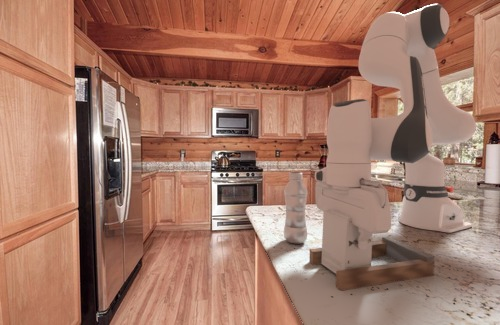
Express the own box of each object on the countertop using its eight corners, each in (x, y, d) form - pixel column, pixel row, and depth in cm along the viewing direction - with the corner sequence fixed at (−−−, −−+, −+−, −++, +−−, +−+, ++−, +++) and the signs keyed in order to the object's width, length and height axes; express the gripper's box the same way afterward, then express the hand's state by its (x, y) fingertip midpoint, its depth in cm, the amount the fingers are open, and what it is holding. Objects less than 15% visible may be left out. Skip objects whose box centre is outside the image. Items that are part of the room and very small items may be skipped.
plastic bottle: (302, 248, 64) (303, 174, 63) (279, 243, 68) (280, 172, 67) (310, 240, 70) (311, 172, 69) (288, 236, 73) (289, 171, 72)
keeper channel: (388, 251, 62) (388, 236, 62) (434, 275, 51) (434, 256, 50) (309, 261, 57) (309, 245, 56) (340, 290, 45) (341, 269, 45)
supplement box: (344, 280, 47) (346, 218, 47) (320, 263, 54) (322, 208, 54) (372, 274, 50) (374, 214, 49) (346, 258, 57) (348, 206, 56)
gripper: (401, 182, 42) (399, 259, 43) (333, 171, 62) (332, 224, 62) (371, 183, 40) (369, 263, 41) (310, 172, 60) (310, 226, 61)
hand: (346, 239), depth 52 cm, fingers closed on supplement box, 8 cm apart
